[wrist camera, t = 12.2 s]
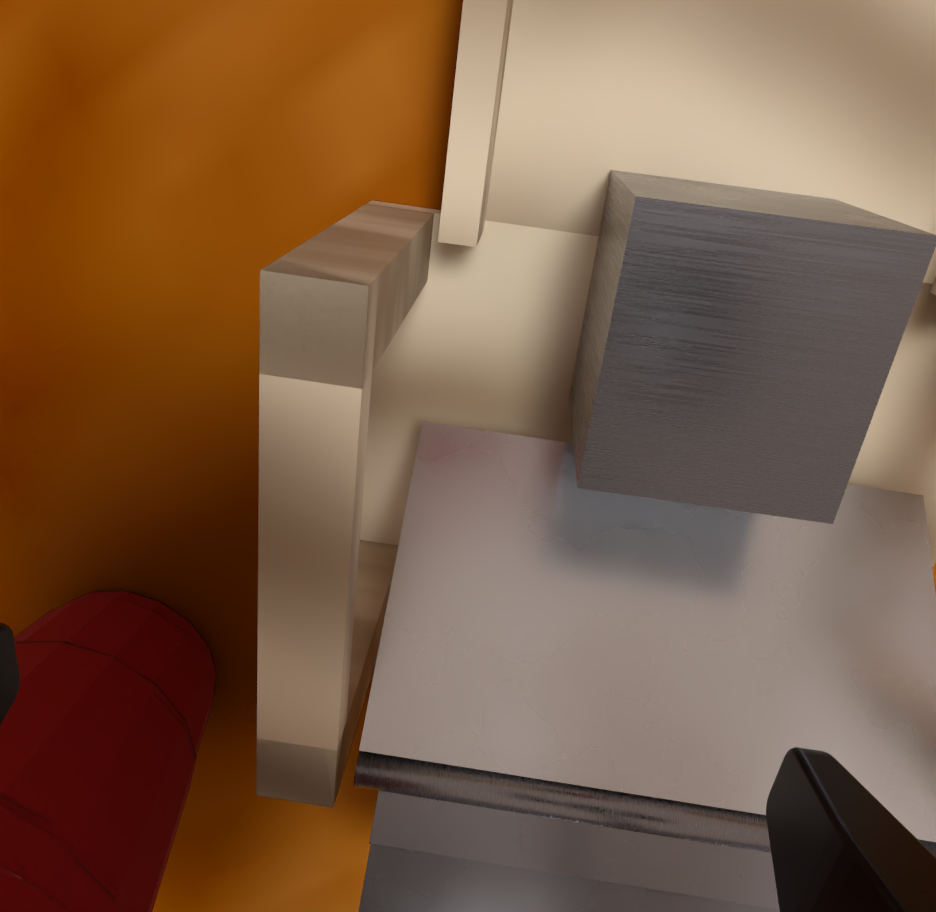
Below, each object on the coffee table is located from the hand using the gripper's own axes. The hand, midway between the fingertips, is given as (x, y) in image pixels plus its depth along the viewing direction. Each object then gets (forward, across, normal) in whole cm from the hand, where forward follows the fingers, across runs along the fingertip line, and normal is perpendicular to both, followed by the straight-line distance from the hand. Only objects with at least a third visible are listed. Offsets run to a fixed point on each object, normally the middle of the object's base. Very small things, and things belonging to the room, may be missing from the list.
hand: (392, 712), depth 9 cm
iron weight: (+9, -5, 0) cm, 11 cm away
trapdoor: (+9, -5, +9) cm, 14 cm away
